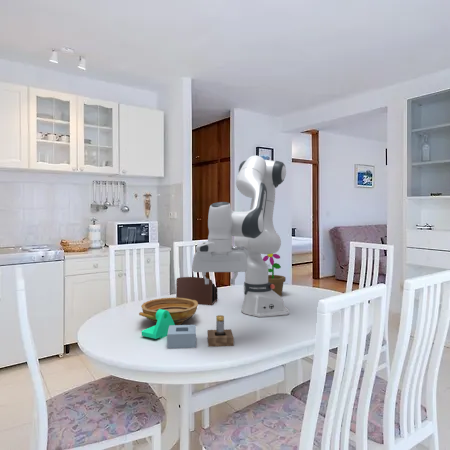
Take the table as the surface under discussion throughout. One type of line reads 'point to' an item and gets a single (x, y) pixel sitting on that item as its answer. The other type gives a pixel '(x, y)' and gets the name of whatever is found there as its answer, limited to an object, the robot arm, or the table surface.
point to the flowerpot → (275, 279)
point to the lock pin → (219, 325)
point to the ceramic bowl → (170, 308)
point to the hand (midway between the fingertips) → (219, 283)
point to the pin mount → (220, 338)
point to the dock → (181, 336)
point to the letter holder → (196, 290)
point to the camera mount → (159, 325)
